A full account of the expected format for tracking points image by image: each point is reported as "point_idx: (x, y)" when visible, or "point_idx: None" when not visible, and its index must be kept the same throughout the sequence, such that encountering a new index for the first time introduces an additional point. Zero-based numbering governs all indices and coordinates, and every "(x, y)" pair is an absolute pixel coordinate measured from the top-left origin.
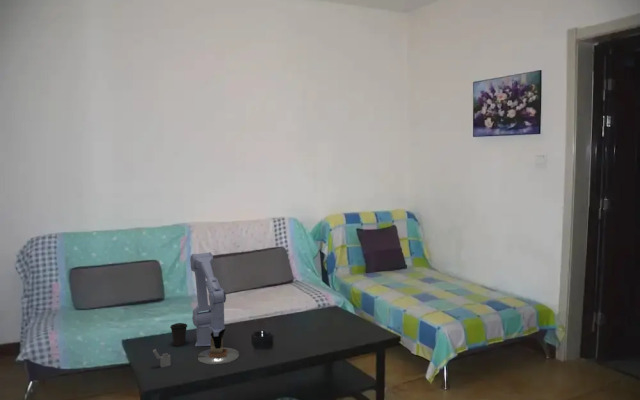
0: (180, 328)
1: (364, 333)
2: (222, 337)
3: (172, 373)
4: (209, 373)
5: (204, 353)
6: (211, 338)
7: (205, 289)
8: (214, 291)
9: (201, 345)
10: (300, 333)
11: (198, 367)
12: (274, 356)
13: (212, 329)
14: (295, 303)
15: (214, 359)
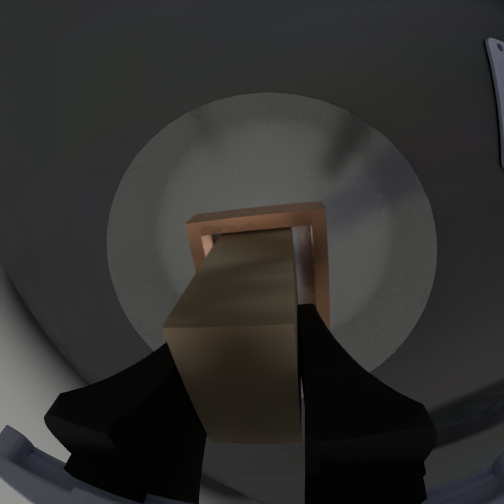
0: None
1: None
2: (275, 440)
3: (6, 76)
4: (30, 269)
5: (295, 142)
6: (197, 337)
7: None
8: None
9: (497, 87)
10: (470, 467)
11: (65, 180)
12: (275, 475)
13: (30, 500)
14: None
15: (157, 272)
